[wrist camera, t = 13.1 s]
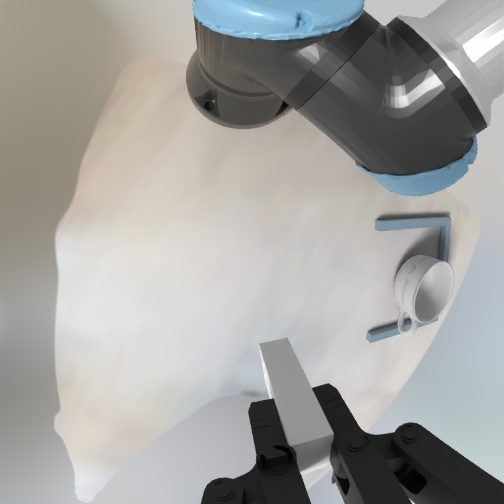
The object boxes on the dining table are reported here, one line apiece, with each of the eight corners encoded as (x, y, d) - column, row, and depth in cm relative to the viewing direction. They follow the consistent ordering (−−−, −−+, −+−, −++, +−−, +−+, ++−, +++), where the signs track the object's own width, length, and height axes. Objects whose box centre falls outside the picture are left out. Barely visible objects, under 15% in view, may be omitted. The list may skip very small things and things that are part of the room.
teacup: (410, 237, 41) (441, 248, 33) (435, 271, 44) (462, 284, 36) (364, 302, 42) (390, 322, 35) (394, 328, 45) (418, 348, 38)
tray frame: (375, 220, 39) (380, 221, 38) (445, 216, 42) (451, 217, 40) (366, 338, 44) (370, 342, 43) (433, 317, 47) (437, 320, 45)
